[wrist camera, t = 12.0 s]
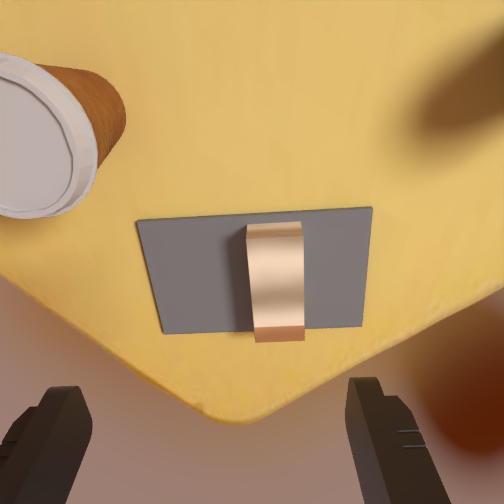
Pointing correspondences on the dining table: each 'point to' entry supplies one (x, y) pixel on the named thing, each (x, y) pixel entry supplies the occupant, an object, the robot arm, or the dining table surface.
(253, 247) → the tan rectangular block
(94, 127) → the disposable coffee cup
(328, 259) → the mat
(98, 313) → the dining table surface
